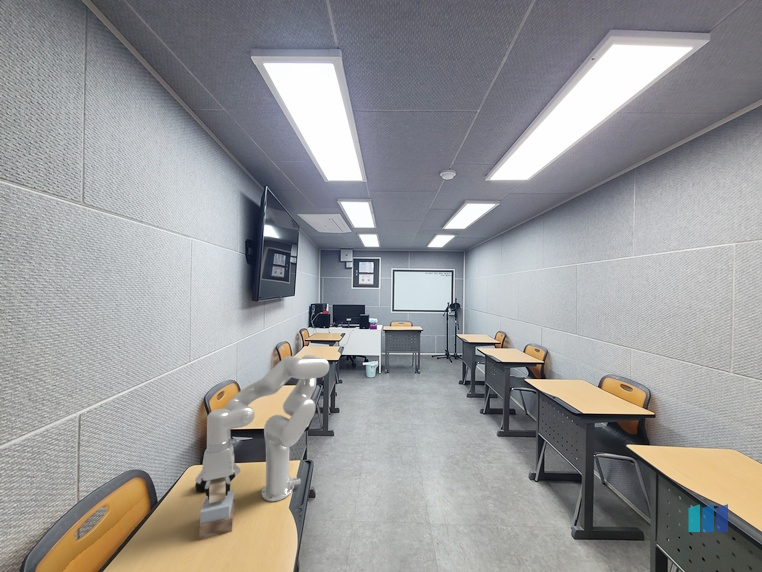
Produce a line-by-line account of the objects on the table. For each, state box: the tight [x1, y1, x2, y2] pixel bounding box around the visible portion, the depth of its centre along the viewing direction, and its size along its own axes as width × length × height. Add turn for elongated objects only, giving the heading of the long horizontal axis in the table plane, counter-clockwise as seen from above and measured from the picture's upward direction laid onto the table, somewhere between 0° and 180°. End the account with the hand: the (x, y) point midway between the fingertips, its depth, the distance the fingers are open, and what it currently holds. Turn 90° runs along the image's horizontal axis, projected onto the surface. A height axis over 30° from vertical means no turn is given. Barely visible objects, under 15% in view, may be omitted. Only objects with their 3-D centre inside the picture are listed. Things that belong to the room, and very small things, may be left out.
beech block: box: [209, 477, 226, 503], centre depth 106 cm, size 5×5×6 cm
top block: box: [199, 489, 234, 525], centre depth 106 cm, size 9×9×4 cm
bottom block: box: [198, 499, 236, 541], centre depth 106 cm, size 10×10×5 cm
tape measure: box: [194, 481, 211, 493], centre depth 126 cm, size 7×7×4 cm
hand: (218, 494), depth 106 cm, fingers closed on beech block, 4 cm apart
